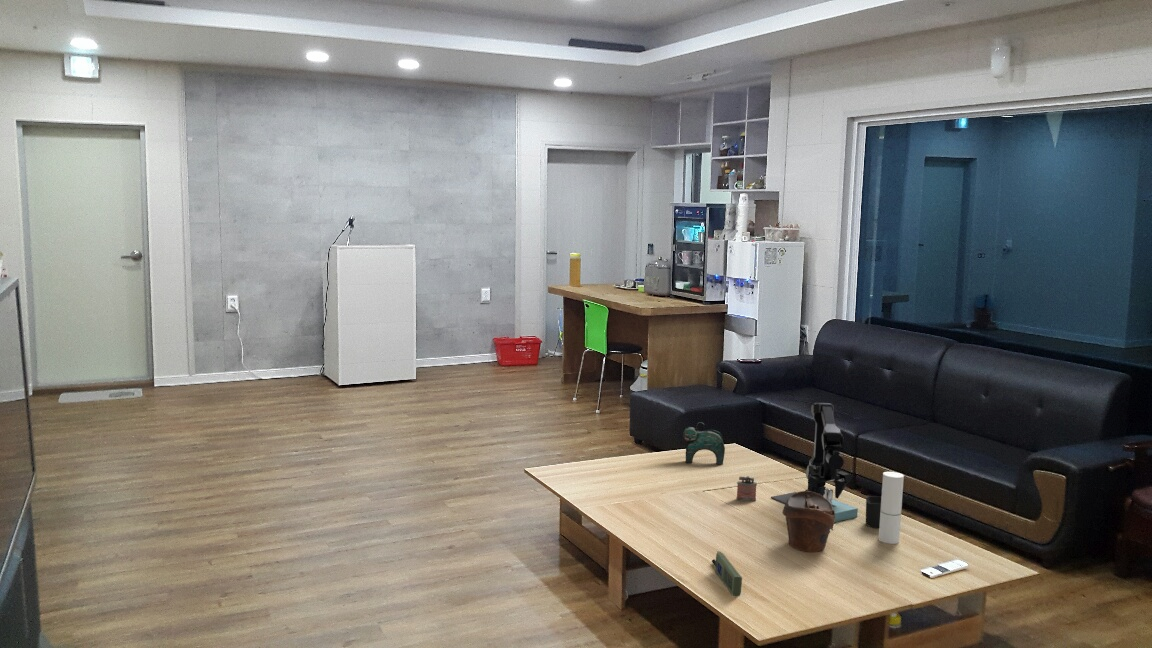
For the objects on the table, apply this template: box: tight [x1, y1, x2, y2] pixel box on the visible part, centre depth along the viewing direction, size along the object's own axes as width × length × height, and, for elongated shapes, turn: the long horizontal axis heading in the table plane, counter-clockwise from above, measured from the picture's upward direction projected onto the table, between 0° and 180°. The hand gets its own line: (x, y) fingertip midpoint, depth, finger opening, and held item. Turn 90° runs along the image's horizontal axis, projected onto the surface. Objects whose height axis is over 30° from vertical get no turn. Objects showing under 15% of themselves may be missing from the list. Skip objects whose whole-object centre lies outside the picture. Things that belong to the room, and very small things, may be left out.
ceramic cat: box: [682, 421, 726, 466], centre depth 415 cm, size 20×6×20 cm, turn 80°
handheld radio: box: [711, 550, 743, 597], centre depth 284 cm, size 7×3×25 cm
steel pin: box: [824, 487, 834, 505], centre depth 348 cm, size 3×3×10 cm
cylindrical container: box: [878, 471, 905, 545], centre depth 320 cm, size 7×7×25 cm
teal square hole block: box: [823, 496, 859, 523], centre depth 348 cm, size 16×16×4 cm
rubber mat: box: [770, 491, 797, 505], centre depth 364 cm, size 14×14×1 cm
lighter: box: [736, 476, 758, 502], centre depth 363 cm, size 8×3×10 cm, turn 84°
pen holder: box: [865, 495, 881, 530], centre depth 337 cm, size 9×9×10 cm
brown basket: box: [781, 490, 835, 553], centre depth 313 cm, size 18×20×18 cm
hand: (828, 499), depth 348 cm, fingers open, 9 cm apart
